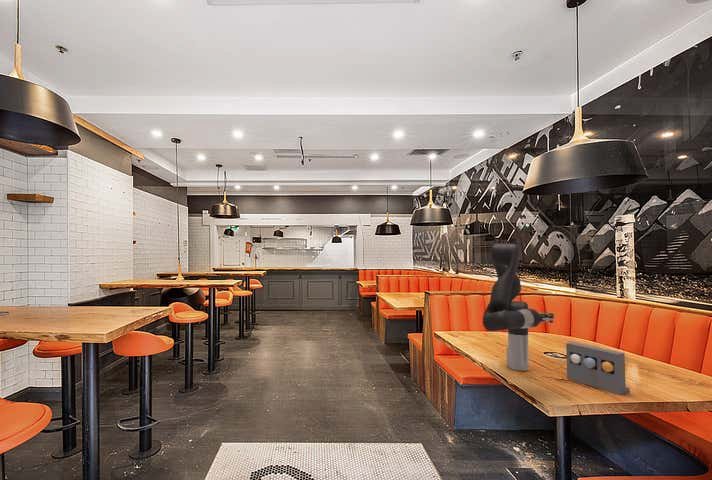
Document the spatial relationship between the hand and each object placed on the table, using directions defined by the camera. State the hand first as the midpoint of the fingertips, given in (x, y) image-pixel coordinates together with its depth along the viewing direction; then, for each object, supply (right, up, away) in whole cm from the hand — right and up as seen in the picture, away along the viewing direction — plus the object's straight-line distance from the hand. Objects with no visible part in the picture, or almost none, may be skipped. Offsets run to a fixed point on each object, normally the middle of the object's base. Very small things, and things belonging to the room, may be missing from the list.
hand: (551, 315), depth 148 cm
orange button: (+21, -22, -5) cm, 31 cm away
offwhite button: (+15, -23, +6) cm, 28 cm away
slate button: (+17, -22, 0) cm, 28 cm away
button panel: (+20, -30, +2) cm, 37 cm away
